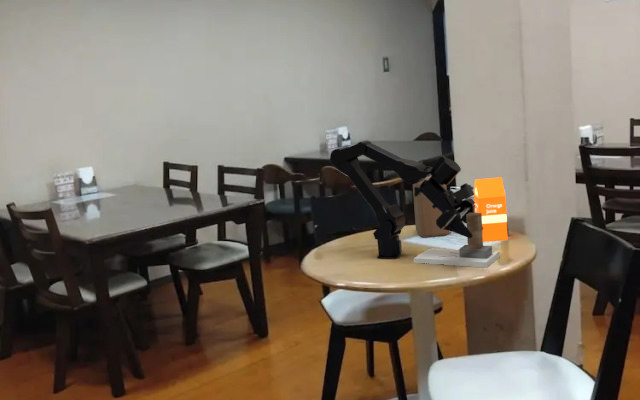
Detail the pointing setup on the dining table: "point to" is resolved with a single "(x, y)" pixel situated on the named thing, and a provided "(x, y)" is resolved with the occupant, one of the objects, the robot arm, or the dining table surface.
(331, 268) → the dining table surface
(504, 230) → the orange juice
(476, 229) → the brown post on stand
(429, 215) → the wooden block
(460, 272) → the dining table surface
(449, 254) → the primed board
